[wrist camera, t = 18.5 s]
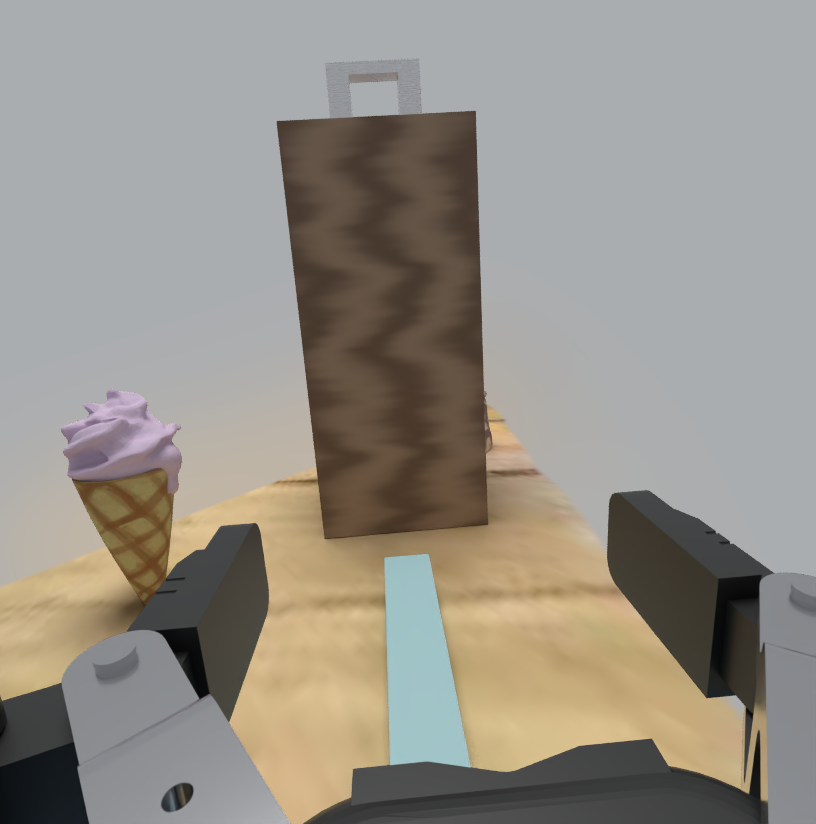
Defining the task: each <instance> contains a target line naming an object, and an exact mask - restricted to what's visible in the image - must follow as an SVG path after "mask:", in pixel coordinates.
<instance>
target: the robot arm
mask: <svg viewBox="0 0 816 824" xmlns="http://www.w3.org/2000/svg"><path fill="white" fill-rule="evenodd" d="M607 560H608V567H609V571H610V574H611V576H612V579H613V581H614V582H615V584H616V585H617V587H618V588H619V589H620V590H621V592H622V593H623V594H624V595H625V597H626V598H627V599H628V600H629V602H630V603H631V604H632V605H633V607H634V608H635V609H636V610H637V612H638V613H639V614H640V615H641V617H642V618H643V619H644V620H645V622H646V623H647V624H648V625H649V627H650V628H651V629H652V630H653V632H654V633H655V634H656V635H657V637H658V638H659V639H660V640H661V642H662V643H663V644H664V645H665V647H666V648H667V649H668V650H669V652H670V653H671V654H672V655H673V657H674V658H675V659H676V660H677V662H678V663H679V664H680V665H681V667H682V668H683V669H684V670H685V672H686V673H687V674H688V675H689V677H690V678H691V679H692V680H693V682H694V683H695V684H696V685H697V687H698V688H699V689H700V690H701V692H702V693H703V694H704V695H705V697H706V698H713V697H723V696H733V695H736V696H737V697H738V698H739V699H740V700H741V701H742V703H743V704H744V705H745V709H744V717H743V738H742V769H741V790H740V789H738V788H736V787H734V786H732V785H729V784H727V783H725V782H722V781H720V780H718V779H715V778H712V777H709V776H706V775H703V774H700V773H697V772H693V771H689V770H685V769H681V768H677V767H670V766H668V765H667V763H666V761H665V760H664V758H663V756H662V755H661V753H660V751H659V750H658V748H657V747H656V745H655V743H654V742H653V740H652V739H644V740H634V741H624V742H614V743H604V744H594V745H585V746H578V747H576V748H573V749H571V750H568V751H565V752H563V753H560V754H558V755H555V756H552V757H550V758H547V759H545V760H542V761H539V762H537V763H534V764H532V765H529V766H526V767H524V768H521V769H519V770H516V771H512V772H498V771H491V770H484V769H478V768H471V767H464V766H457V765H450V764H443V763H436V762H429V761H426V762H416V763H406V764H397V765H387V766H377V767H367V768H357V769H353V778H352V796H351V798H349V799H347V800H344V801H342V802H339V803H337V804H335V805H333V806H331V807H329V808H327V809H325V810H323V811H321V812H320V813H318V814H317V815H315V816H314V817H312V818H311V819H309V820H308V821H306V822H305V823H303V824H816V577H813V576H809V575H804V574H797V573H773V572H772V571H770V570H769V569H768V568H766V567H765V566H763V565H762V564H761V563H759V562H758V561H756V560H755V559H754V558H752V557H751V556H750V555H748V554H747V553H745V552H744V551H742V550H741V549H740V548H738V547H737V546H736V545H734V544H730V541H728V540H727V539H726V538H725V537H723V536H721V535H720V534H719V533H718V534H716V531H715V530H713V529H712V528H711V527H709V526H708V525H706V524H705V523H704V522H702V521H701V520H699V519H698V518H695V517H693V516H690V515H688V514H685V513H683V512H680V511H678V510H676V509H673V508H672V507H670V506H669V505H667V504H666V503H665V502H664V501H662V500H661V499H660V498H658V497H657V496H656V495H654V494H653V493H651V492H650V491H647V490H645V491H632V492H621V493H614V494H613V495H612V496H611V498H610V502H609V520H608V546H607ZM268 603H269V589H268V581H267V574H266V568H265V561H264V554H263V548H262V541H261V534H260V530H259V527H258V525H257V524H256V523H252V524H239V525H227V526H221V527H220V528H219V529H218V531H217V532H216V534H215V535H214V537H213V538H212V539H211V541H210V542H209V544H208V545H207V547H206V548H205V550H196V551H194V552H193V553H192V554H190V555H189V556H187V557H186V558H184V559H183V560H182V561H180V562H179V563H177V564H176V566H175V567H174V568H173V570H172V571H171V572H170V574H169V575H168V576H167V578H166V581H165V582H163V583H162V584H161V586H160V587H159V589H158V590H157V591H156V595H153V597H152V598H151V599H150V601H149V602H148V603H147V605H146V606H145V607H144V609H143V610H142V611H141V613H140V614H139V615H138V617H137V618H136V619H135V621H134V622H133V623H132V625H131V626H130V628H129V629H128V630H127V632H125V633H121V634H118V635H115V636H112V637H110V638H107V639H105V640H103V641H101V642H99V643H97V644H95V645H94V646H92V647H90V648H89V649H87V650H86V651H84V652H83V653H82V654H80V655H79V656H78V657H77V658H76V659H75V660H74V661H73V662H72V663H71V664H70V665H69V666H68V668H67V669H66V671H65V673H64V674H63V678H62V683H59V684H56V685H53V686H50V687H47V688H44V689H41V690H37V691H34V692H31V693H27V694H24V695H21V696H17V697H14V698H11V699H7V700H4V701H2V700H1V697H0V824H290V822H289V820H288V819H287V817H286V815H285V814H284V812H283V811H282V809H281V807H280V806H279V804H278V802H277V801H276V799H275V797H274V796H273V794H272V793H271V791H270V789H269V788H268V786H267V784H266V783H265V781H264V779H263V778H262V776H261V775H260V773H259V771H258V770H257V768H256V766H255V765H254V763H253V761H252V760H251V758H250V756H249V755H248V753H247V752H246V750H245V748H244V747H243V745H242V743H241V742H240V740H239V738H238V737H237V735H236V734H235V732H234V730H233V729H232V727H231V725H230V724H229V721H230V718H231V716H232V713H233V710H234V707H235V704H236V701H237V698H238V696H239V693H240V690H241V687H242V684H243V681H244V678H245V676H246V673H247V670H248V667H249V664H250V661H251V659H252V656H253V653H254V650H255V647H256V644H257V641H258V639H259V636H260V633H261V630H262V627H263V624H264V621H265V619H266V615H267V611H268Z"/></svg>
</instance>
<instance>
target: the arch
mask: <svg viewBox="0 0 816 824" xmlns="http://www.w3.org/2000/svg"><path fill="white" fill-rule="evenodd" d="M325 66H326V77H327V87H328V98H329V109H330V118H349V117H352V108H351V107H352V106H351V94H350V83H359V82H378V81H379V82H380V81H397V88H398V106H399V115H407V114H422V109H421V90H420V71H419V59H404V60H381V61H359V62H339V63H325Z"/></svg>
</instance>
